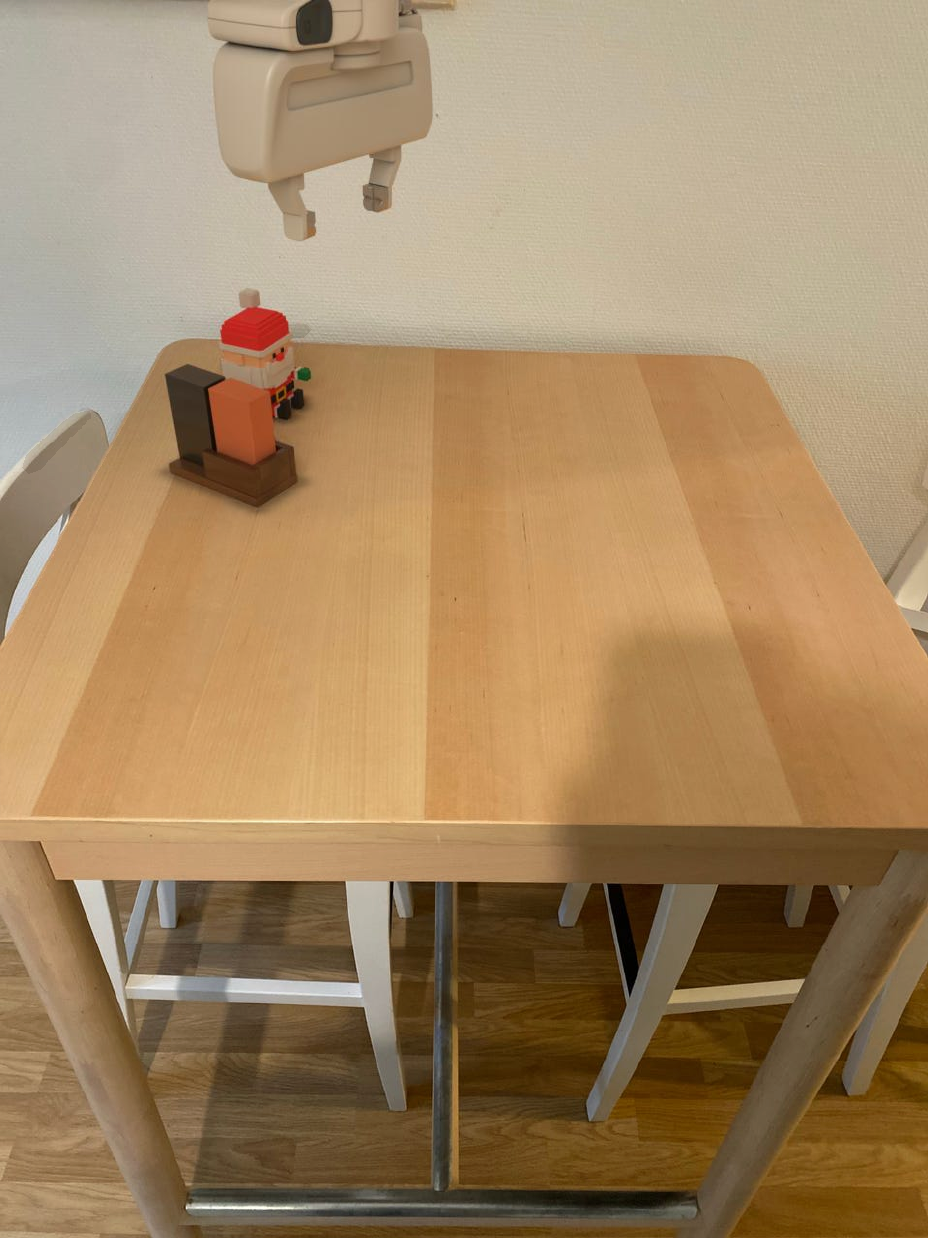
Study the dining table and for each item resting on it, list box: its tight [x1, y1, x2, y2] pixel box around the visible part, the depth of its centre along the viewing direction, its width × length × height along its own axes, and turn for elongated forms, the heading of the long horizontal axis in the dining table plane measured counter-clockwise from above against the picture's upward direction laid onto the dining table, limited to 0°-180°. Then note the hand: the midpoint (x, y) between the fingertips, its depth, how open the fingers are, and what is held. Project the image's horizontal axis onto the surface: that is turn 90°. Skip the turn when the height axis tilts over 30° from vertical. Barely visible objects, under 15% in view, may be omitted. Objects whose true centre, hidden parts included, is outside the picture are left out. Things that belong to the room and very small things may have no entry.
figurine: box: [218, 287, 312, 420], centre depth 100 cm, size 8×7×12 cm
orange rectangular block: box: [208, 378, 276, 465], centre depth 87 cm, size 3×5×9 cm, turn 58°
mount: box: [164, 363, 298, 508], centre depth 88 cm, size 6×12×10 cm, turn 58°
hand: (340, 223), depth 68 cm, fingers open, 8 cm apart
